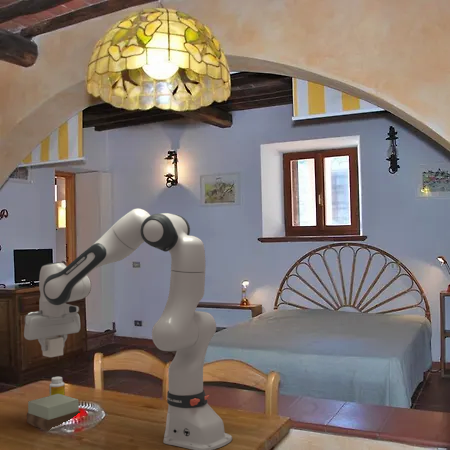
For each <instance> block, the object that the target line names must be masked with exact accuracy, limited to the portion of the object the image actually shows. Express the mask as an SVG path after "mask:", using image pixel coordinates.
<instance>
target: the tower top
mask: <svg viewBox="0 0 450 450" xmlns="http://www.w3.org/2000/svg"><path fill="white" fill-rule="evenodd" d="M27 404H28V405H27V407H28V408H27V410H28V411H27V413H29V414H32V415H35V416H38V417H41V418H44V419H47V420H50V419H54V418H57V417H60V416H64V415H67V414H70V413H73V412H77V411H80V410H79V399H78V398H74V397H71V396H68V395H61V394H55V395H51V396H49V395H48V396H44V397H40V398H36V399H32V400H30V401H28V402H27Z"/></svg>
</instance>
